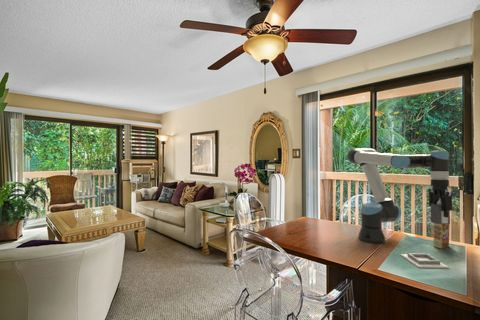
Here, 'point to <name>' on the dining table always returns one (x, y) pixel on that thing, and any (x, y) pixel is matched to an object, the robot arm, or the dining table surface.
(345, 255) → the dining table surface
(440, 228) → the candy box
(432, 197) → the robot arm
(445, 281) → the dining table surface
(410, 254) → the end holder
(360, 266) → the dining table surface
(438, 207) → the block
